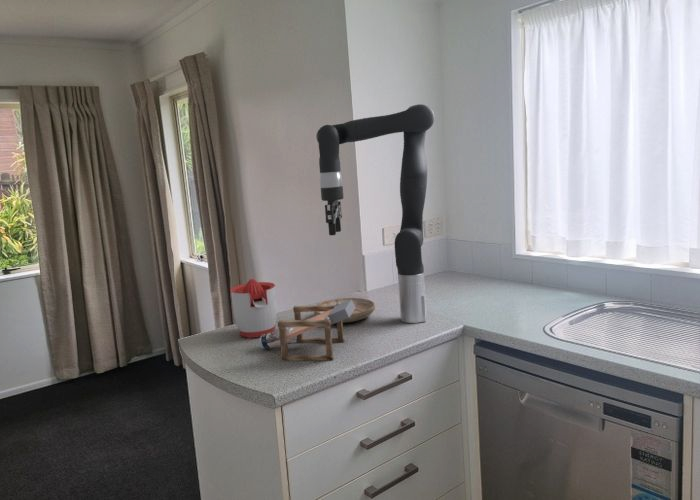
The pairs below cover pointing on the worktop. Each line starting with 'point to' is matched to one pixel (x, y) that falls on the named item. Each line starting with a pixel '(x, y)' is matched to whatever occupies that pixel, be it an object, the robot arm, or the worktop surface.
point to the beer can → (274, 339)
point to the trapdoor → (334, 315)
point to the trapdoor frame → (310, 323)
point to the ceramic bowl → (361, 310)
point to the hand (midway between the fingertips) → (335, 233)
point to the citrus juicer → (254, 308)
